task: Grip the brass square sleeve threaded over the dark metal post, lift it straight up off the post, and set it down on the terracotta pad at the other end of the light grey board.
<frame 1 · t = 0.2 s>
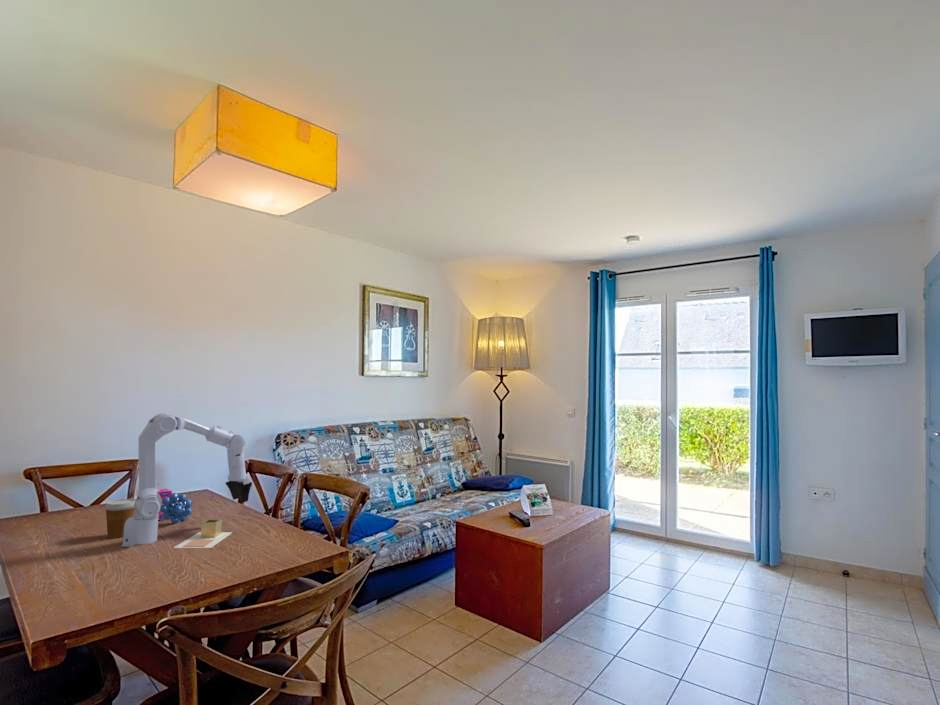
hand: (240, 500, 194), 11 cm above the table, tool pointing down, fingers open, 7 cm apart
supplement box: (159, 519, 203), on the table
grapes: (176, 524, 197), on the table
disposable coffee cup: (118, 536, 180), on the table
sleeve: (211, 535, 180), point 1 cm above the table, touching board
board: (204, 541, 175), on the table
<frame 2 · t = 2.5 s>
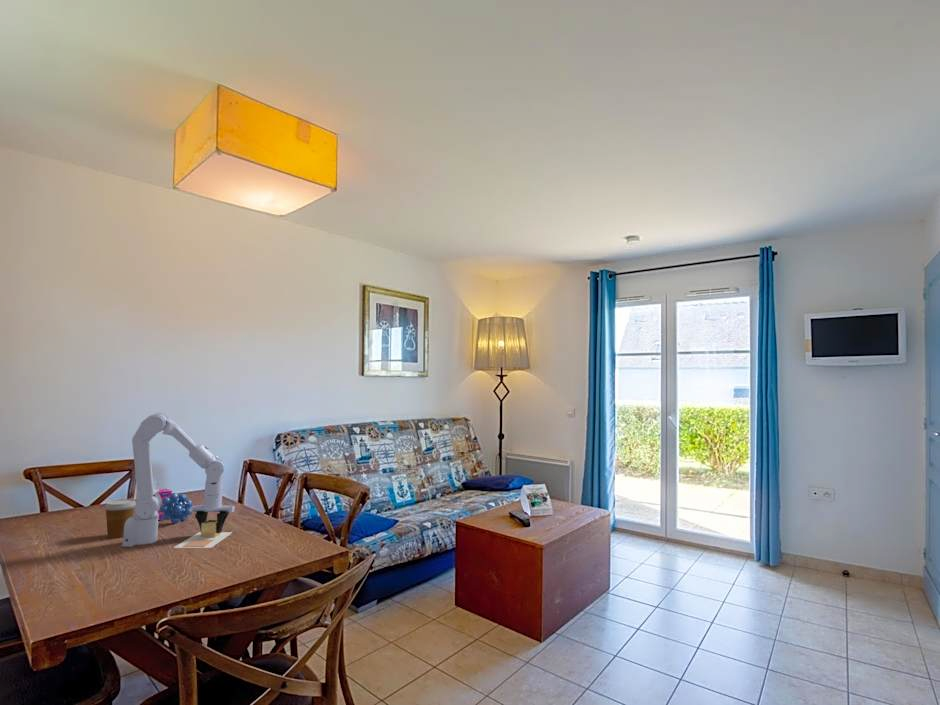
hand: (211, 532, 180), 2 cm above the table, tool pointing down, fingers closed on sleeve, 5 cm apart
sleeve: (211, 535, 180), point 1 cm above the table, touching board, gripper
everything else where it was.
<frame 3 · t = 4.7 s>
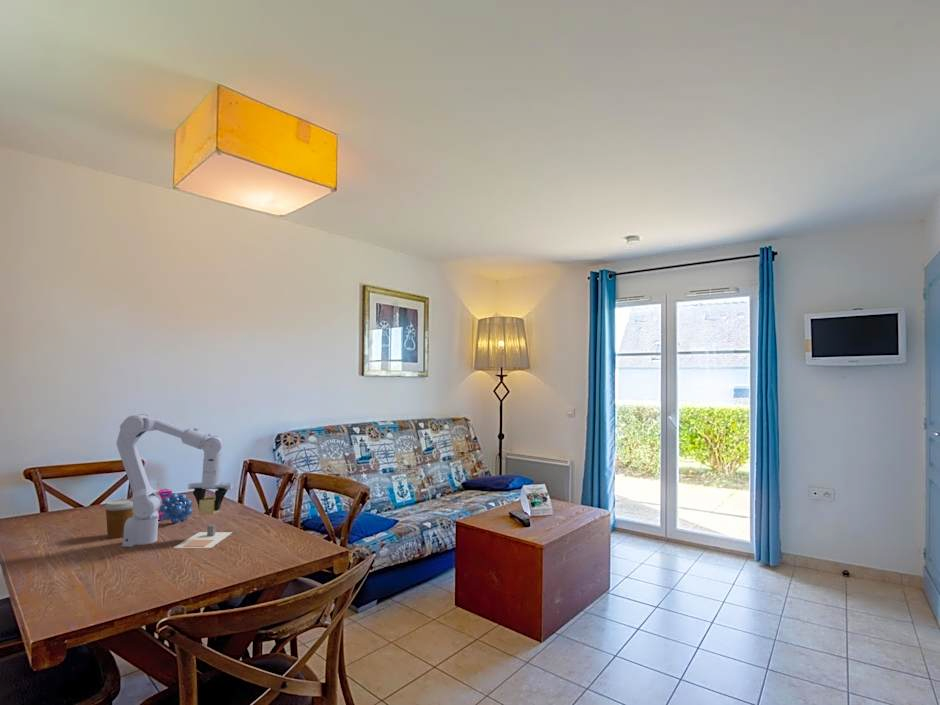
hand: (209, 509, 178), 10 cm above the table, tool pointing down, fingers closed on sleeve, 5 cm apart
sleeve: (209, 512, 178), point 9 cm above the table, touching gripper
everything else where it was.
when the fingers open (3 cm above the table, at t = 6.9 s): sleeve drops 1 cm, resting on board.
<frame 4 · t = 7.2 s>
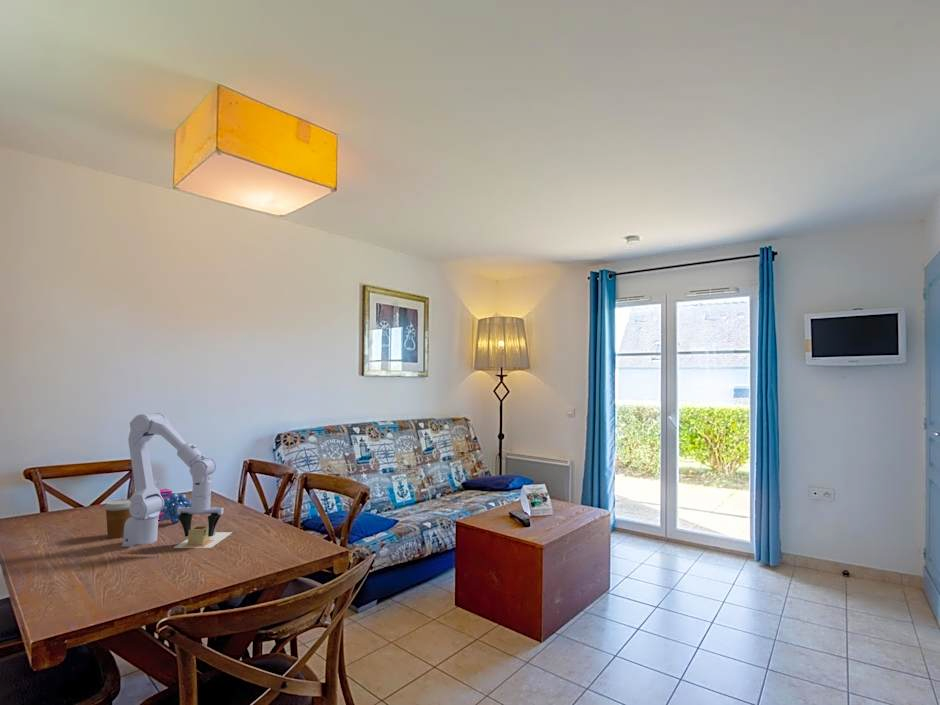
hand: (199, 535, 171), 3 cm above the table, tool pointing down, fingers open, 7 cm apart
sleeve: (198, 542, 171), point 1 cm above the table, touching board
everything else where it was.
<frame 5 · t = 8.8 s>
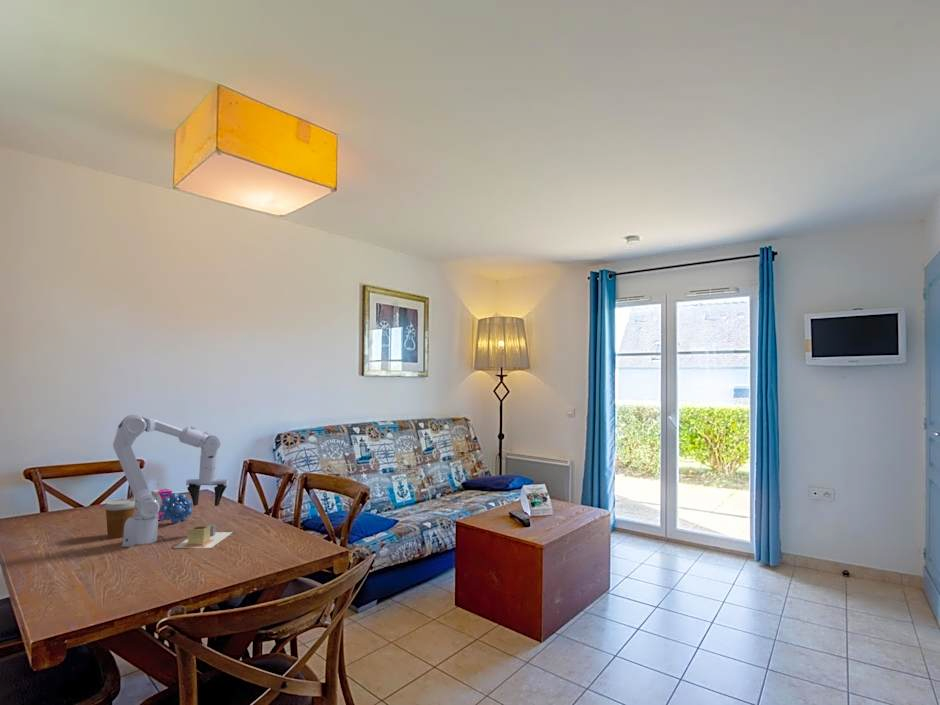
hand: (206, 505, 185), 10 cm above the table, tool pointing down, fingers open, 7 cm apart
nothing on the table moved.
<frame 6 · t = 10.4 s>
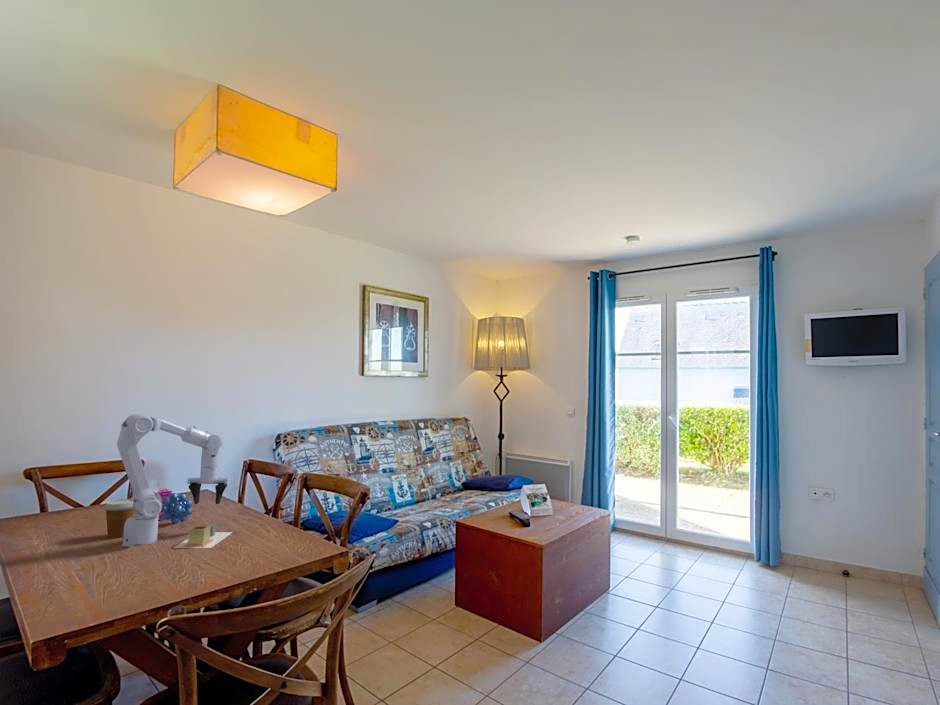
hand: (207, 503, 188), 10 cm above the table, tool pointing down, fingers open, 7 cm apart
nothing on the table moved.
at the end: sleeve 0.2 cm from the target spot on the board, point 1.0 cm above the board's base; sleeve tilted 0°; the gripper is holding nothing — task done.
